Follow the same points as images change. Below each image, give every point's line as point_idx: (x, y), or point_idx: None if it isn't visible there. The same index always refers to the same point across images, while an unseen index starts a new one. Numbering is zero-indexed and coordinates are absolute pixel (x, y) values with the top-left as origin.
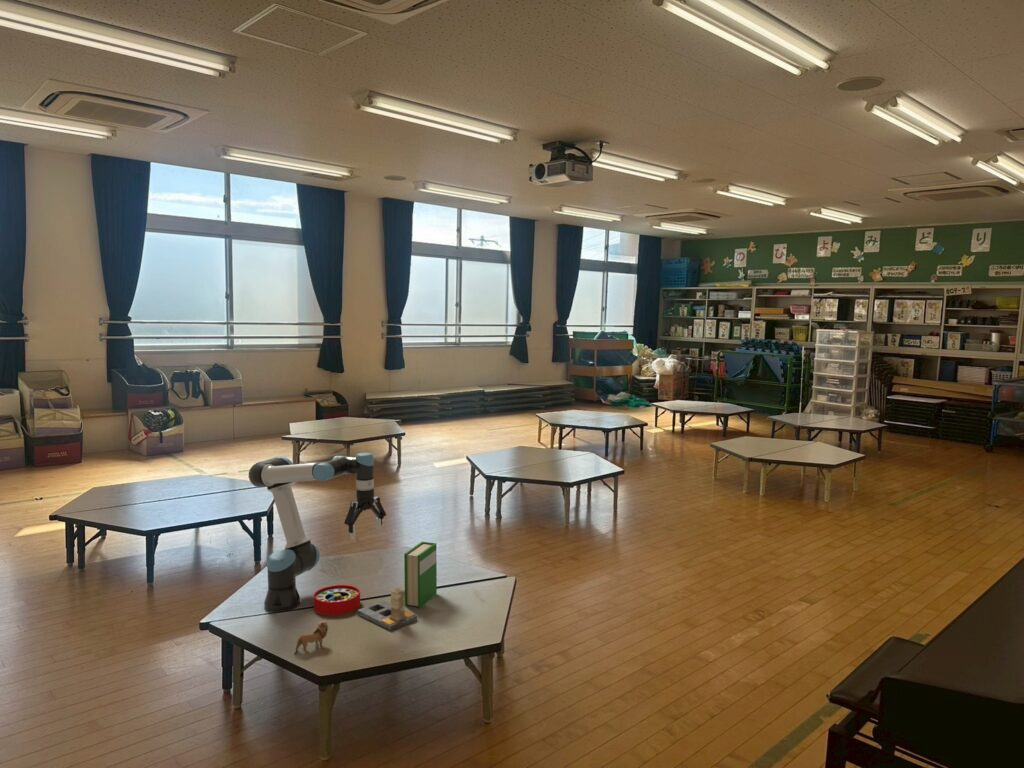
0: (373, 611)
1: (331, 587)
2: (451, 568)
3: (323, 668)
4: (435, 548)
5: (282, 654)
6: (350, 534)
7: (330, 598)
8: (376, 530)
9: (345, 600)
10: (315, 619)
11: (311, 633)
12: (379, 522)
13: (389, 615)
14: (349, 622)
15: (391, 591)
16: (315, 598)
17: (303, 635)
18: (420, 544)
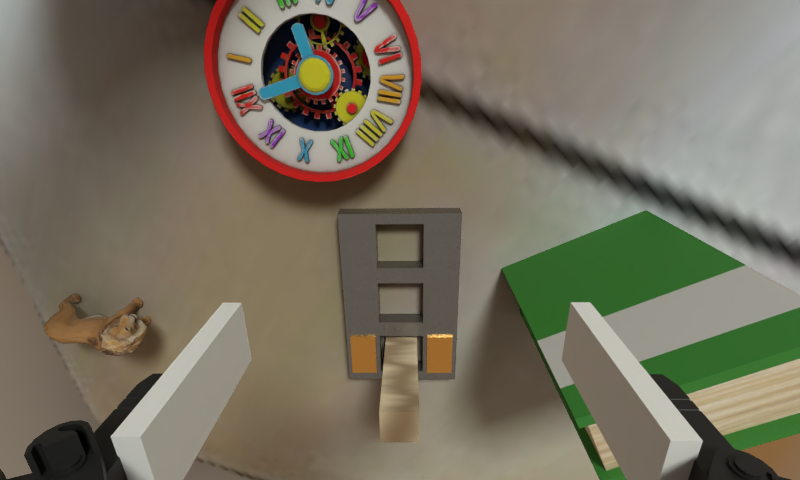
0: (373, 263)
1: None
2: None
3: (114, 405)
4: None
5: (34, 280)
6: (197, 342)
7: (273, 89)
8: (578, 321)
9: (302, 176)
10: (200, 132)
11: (82, 337)
12: (621, 464)
13: (394, 322)
14: (287, 240)
15: (379, 412)
16: (206, 53)
17: (52, 338)
18: (798, 355)
